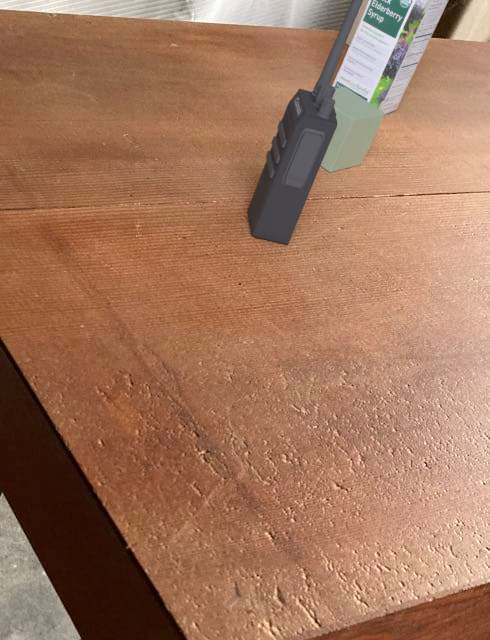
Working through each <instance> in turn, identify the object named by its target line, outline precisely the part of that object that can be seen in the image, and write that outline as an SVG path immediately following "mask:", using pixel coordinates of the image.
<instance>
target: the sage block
mask: <svg viewBox="0 0 490 640" xmlns="http://www.w3.org/2000/svg"><path fill="white" fill-rule="evenodd" d="M332 99H334V100H335V105H334V109H335V112H336V119H337V128H336V130H335V132H334V135H333V137H332V139H331V142H330V144H329V146H328V149H327V151H326V154H325V156H324V158H323V161H322V163H321V166H320V168H323V169H324V170H325V171H327V172H329V173H335V172H337V171H341V170H345V169H350V168H355V167H358V166H362V165H363V162H364V161H365V159H366V157H367V154H368V152H369V150H370V148H371V146H372V144H373V141H374V139H375V137H376V135H377V133H378V131H379V128H380V127H381V124H382V123H383V121H384V118H385V116H386V114H385V113H384V112H383V111H381V110H380V109H378V108H376V107H375V106H373V105H372V104H370V103H369V102H367V101H366V100H364V99H363V98H361V97H360V96H358V95H357V94H355V93H354V92H352V91H350V90H349V89H347V88H346V87H342V88H336V91H335V93H334V96H333V98H332Z"/></svg>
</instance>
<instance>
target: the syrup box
mask: <svg viewBox="0 0 490 640" xmlns="http://www.w3.org/2000/svg"><path fill="white" fill-rule="evenodd" d="M448 3H449V0H368V3H367V5H366V8H365V10H364V12H363V15H362V17H361V20H360V22H359V25H358V27H357V29H356V32H355V34H354V37H353V39H352V41H351V44H350V46H348V49H347V51H346V53H345V55H344V58H343V60H342V63H341V65H340V66H339V69H338V70H337V73H336V75H335V77H334V79H333V82H332V84H331V85H332V86H333V87H335V89H336V88H342V87H346V88H347V89H349V90H350V91H352V92H354V93H355V94H357V95H358V96H360V97H361V98H363V99H364V100H366V101H367V102H369V103H370V104H372V105H373V106H375V107H376V108H378V109H380V110H381V111H383V112H384V113H385V115H387V114H389V113H391V112H395V111H396V110H397V109H398V107H399V105H400V103H401V101H402V99H403V96H404V95H405V92H406V90H407V88H408V86H409V84H410V82H411V80H412V78H413V76H414V74H415V71H416V70H417V67H418V65H419V63H420V61H421V60H422V57H423V55H424V53H425V51H426V49H427V46H428V45H429V42H430V40H431V38H432V37H433V34H434V32H435V30H436V28H437V26H438V24H439V22H440V19H441V17H442V15H443V13H444V11H445V9H446V7H447V4H448Z"/></svg>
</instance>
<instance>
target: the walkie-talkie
mask: <svg viewBox="0 0 490 640" xmlns="http://www.w3.org/2000/svg"><path fill="white" fill-rule="evenodd" d="M362 2H363V0H351V3H350V5H349V7H348V9H347V11H346V14H345V16H344V19H343V21H342V23H341V26H340V28H339V31H338V33H337V35H336V38H335V40H334V43H333V45H332V48H331V50H330V51H329V53H328V57H327V59H326V62H325V63H324V65H323V68H322V71H321V73H320V75H319V78H317V81H316V83H315V85H314V87H313V88H312V91H311V90H307V89H303V88H298V90H297V91H296V93H294V95H293V97H292V98H291V99H290V100H289V102H288V104H287V106H286V108H285V111H284V114H283V116H282V118H281V120H279V122H278V124H277V132H276V134H275V135H273V137H272V140H271V143H270V144H271V146H270V150H267V153H266V156H265V159H266V160H265V163H264V165H263V169H262V170H261V173H260V176H259V179H258V181H257V184H256V187H255V190H254V192H253V194H252V197H251V200H250V202H249V205H248V207H247V215H248V220H249V225H250V231H251V232H250V233H251V236H252V237H253V238H257V239H260V240H265V241H270V242H273V243H277V244H281V245H286V246H288V245H289V243H290V241H291V238H292V236H293V233H294V231H295V229H296V226H297V223H298V221H299V219H300V216H301V214H302V211H303V209H304V207H305V204H306V203H307V200H308V197H309V195H310V192H311V190H312V187H313V186H314V183H315V180H316V177H317V175H318V173H319V171H320V169H321V163H322V161H323V158H324V156H325V154H326V151H327V149H328V146H329V144H330V142H331V139H332V137H333V135H334V132H335V130H336V128H337V119H336V112H335V109H334V105H335V100H334V99H332V98H333V96H334V93H335V91H336V89H335V87H333V86H332V84H331V82H332V79H333V76H334V73H335V72H336V68H337V67H338V63H339V61H340V58H341V56H342V54H343V51H344V49H345V46H346V45H347V44H346V41H347V38H348V36H349V33H350V31H351V28H352V26H353V24H354V21H355V19H356V16H357V14H358V12H359V9H360V7H361V4H362Z"/></svg>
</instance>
